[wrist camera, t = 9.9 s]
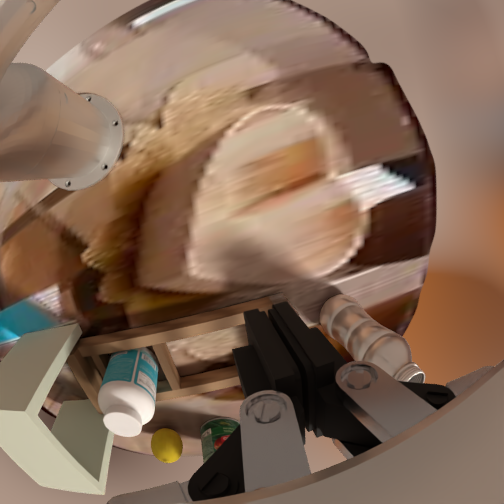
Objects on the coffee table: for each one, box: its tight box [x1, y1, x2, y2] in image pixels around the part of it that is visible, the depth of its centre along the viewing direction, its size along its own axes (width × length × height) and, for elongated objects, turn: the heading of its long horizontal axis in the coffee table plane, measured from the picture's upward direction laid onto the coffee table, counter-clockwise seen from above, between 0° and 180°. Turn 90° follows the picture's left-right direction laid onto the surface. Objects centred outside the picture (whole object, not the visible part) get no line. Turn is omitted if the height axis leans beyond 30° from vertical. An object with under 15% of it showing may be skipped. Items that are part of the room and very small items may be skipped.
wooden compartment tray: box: [66, 293, 299, 414], centre depth 35 cm, size 32×12×7 cm, turn 101°
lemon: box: [151, 428, 183, 463], centre depth 39 cm, size 6×6×8 cm
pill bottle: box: [98, 347, 158, 437], centre depth 32 cm, size 8×7×14 cm
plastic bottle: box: [320, 294, 425, 383], centre depth 33 cm, size 6×7×20 cm
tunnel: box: [0, 323, 114, 495], centre depth 27 cm, size 12×16×19 cm
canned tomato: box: [200, 417, 240, 463], centre depth 40 cm, size 8×8×11 cm
